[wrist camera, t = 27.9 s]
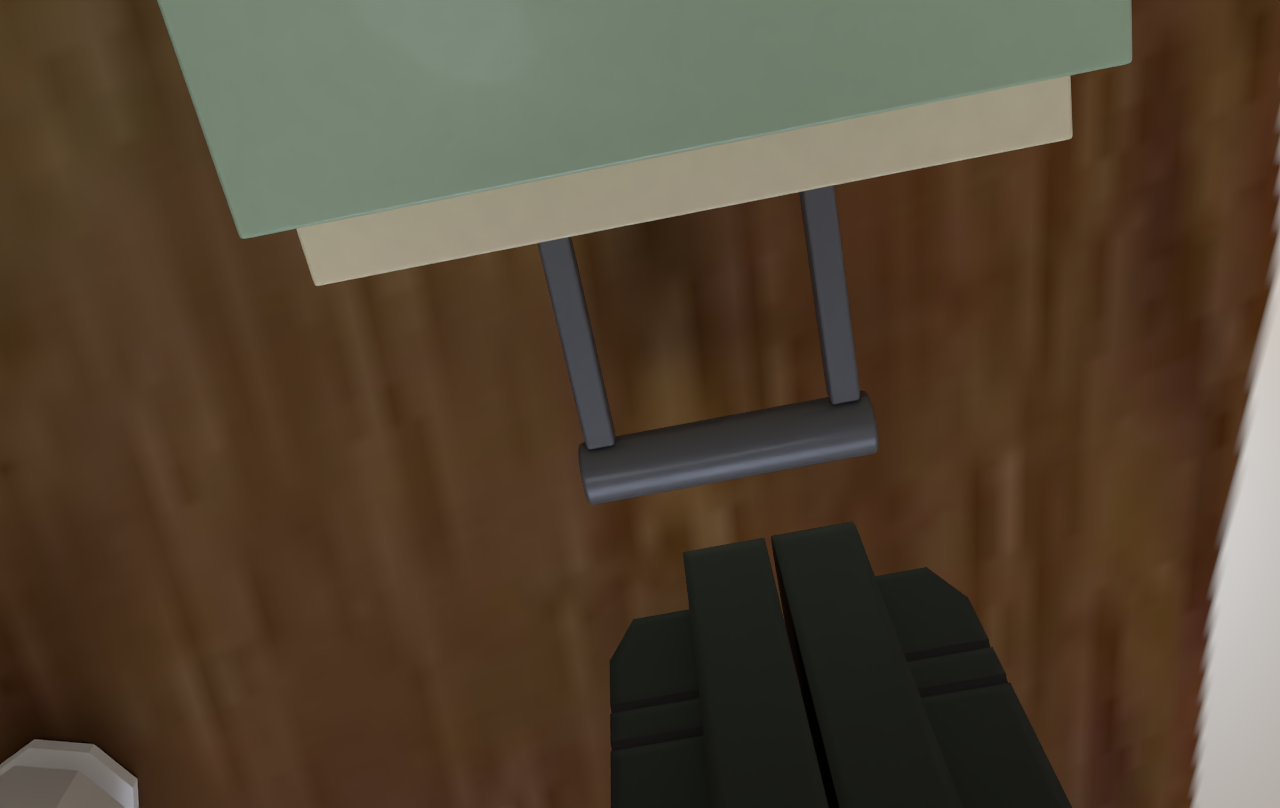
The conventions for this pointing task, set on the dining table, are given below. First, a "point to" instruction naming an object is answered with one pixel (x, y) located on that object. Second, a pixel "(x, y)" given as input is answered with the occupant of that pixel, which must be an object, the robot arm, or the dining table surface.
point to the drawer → (686, 188)
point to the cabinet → (572, 83)
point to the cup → (65, 778)
